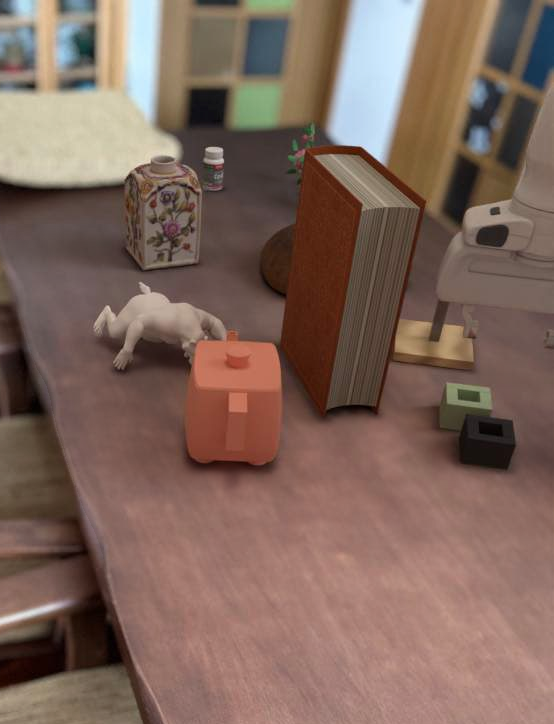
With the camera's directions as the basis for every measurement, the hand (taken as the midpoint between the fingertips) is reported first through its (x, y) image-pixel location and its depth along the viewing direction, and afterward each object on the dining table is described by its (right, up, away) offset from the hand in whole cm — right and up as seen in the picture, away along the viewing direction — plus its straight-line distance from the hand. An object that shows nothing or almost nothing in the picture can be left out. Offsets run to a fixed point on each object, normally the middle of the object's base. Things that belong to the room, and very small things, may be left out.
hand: (509, 341), depth 100 cm
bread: (-9, +25, +55) cm, 61 cm away
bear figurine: (-41, +6, +32) cm, 53 cm away
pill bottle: (-29, +57, +91) cm, 111 cm away
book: (-17, +1, +26) cm, 31 cm away
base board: (+2, +7, +34) cm, 34 cm away
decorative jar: (-41, +31, +60) cm, 79 cm away
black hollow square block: (+1, -12, +11) cm, 17 cm away
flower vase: (-6, +51, +84) cm, 98 cm away
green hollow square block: (+1, -7, +18) cm, 19 cm away
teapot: (-33, -11, +13) cm, 37 cm away
